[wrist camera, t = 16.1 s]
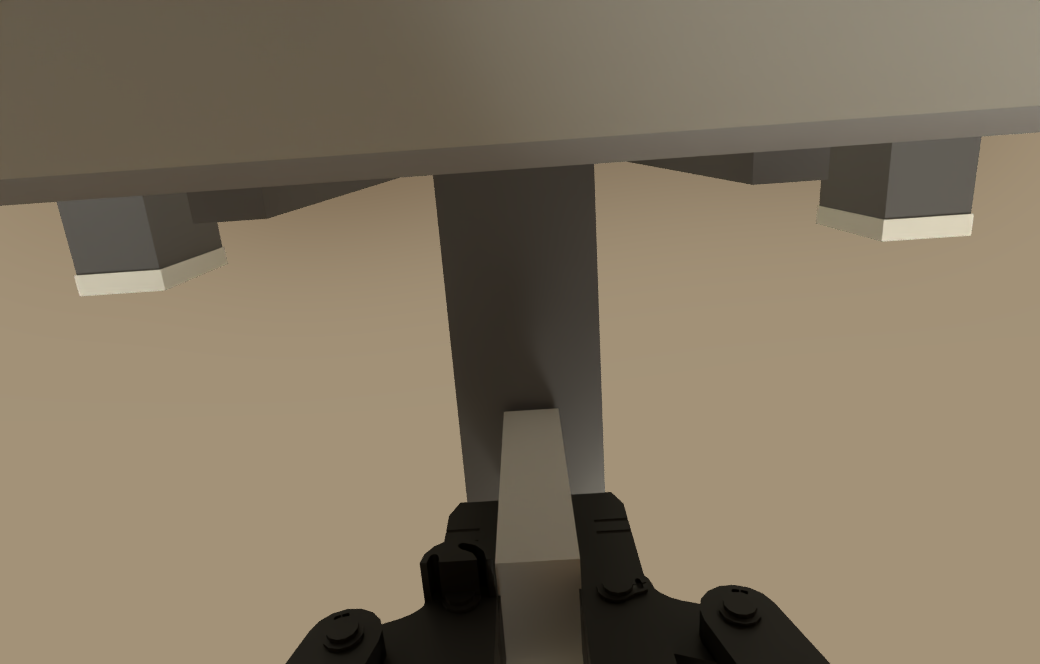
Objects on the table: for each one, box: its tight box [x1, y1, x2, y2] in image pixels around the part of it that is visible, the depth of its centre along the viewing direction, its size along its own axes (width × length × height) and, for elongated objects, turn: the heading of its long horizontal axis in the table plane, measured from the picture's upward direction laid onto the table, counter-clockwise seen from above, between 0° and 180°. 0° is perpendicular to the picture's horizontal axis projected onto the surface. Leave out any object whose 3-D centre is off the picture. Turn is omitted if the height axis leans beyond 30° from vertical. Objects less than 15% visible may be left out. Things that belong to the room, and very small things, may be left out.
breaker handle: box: [433, 164, 605, 502], centre depth 20 cm, size 4×4×18 cm
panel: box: [0, 0, 1040, 296], centre depth 15 cm, size 28×20×5 cm
